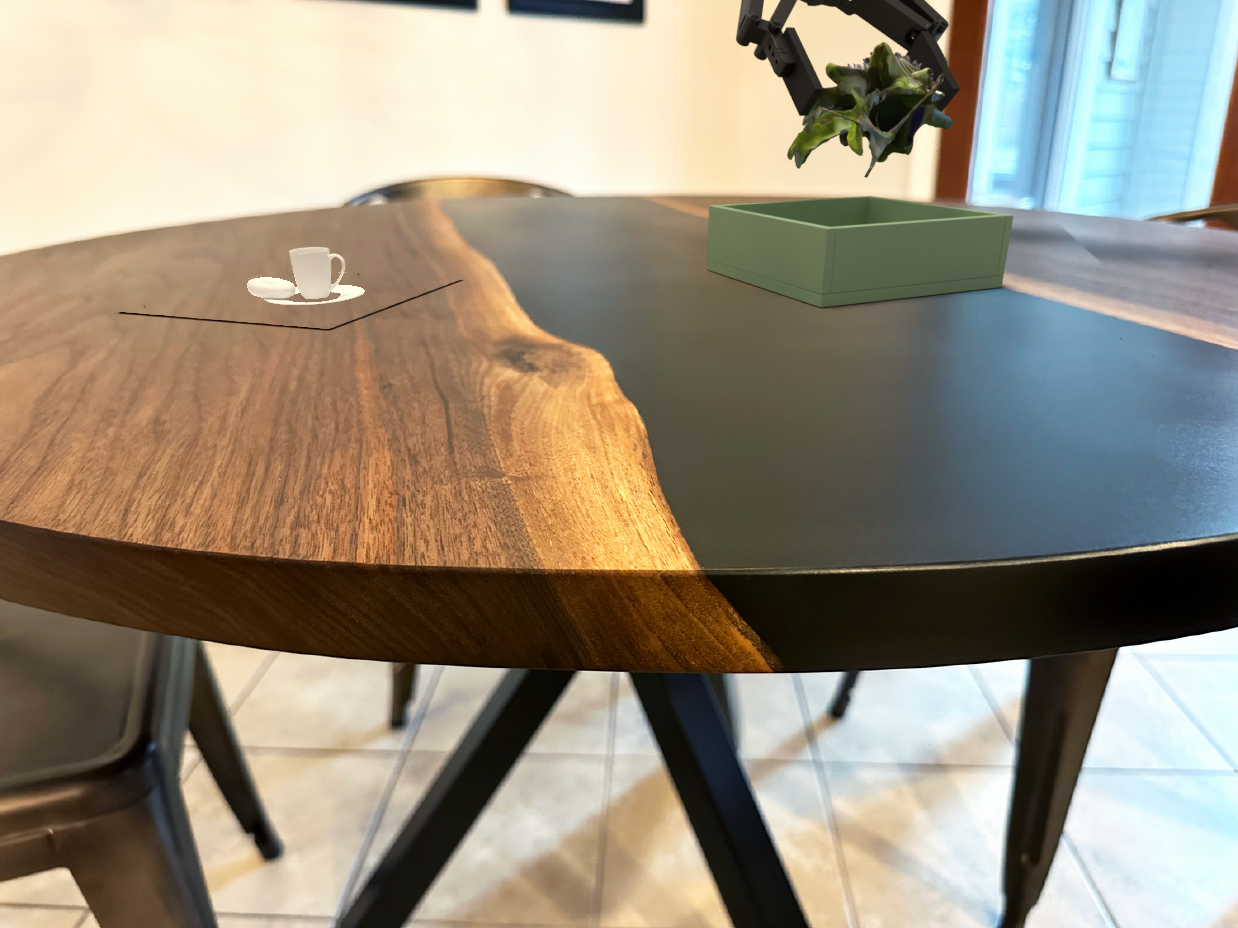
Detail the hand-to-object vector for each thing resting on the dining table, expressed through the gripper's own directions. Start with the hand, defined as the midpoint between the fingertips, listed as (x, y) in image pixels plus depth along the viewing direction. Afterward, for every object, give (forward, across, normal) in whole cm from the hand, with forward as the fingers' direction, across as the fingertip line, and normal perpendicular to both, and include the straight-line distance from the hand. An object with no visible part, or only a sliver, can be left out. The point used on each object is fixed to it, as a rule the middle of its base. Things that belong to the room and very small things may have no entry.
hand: (881, 102), depth 68 cm
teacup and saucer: (-1, +46, -22) cm, 51 cm away
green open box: (+8, 0, -12) cm, 15 cm away
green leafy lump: (+3, 0, -5) cm, 6 cm away
